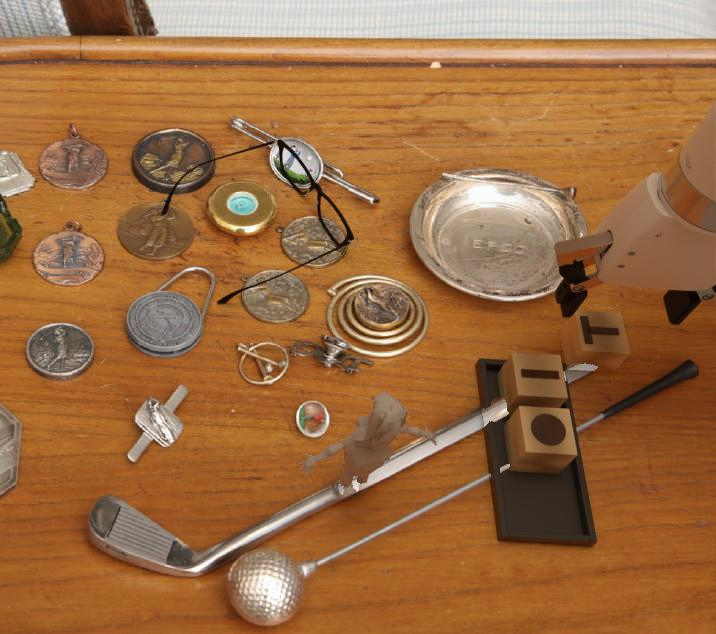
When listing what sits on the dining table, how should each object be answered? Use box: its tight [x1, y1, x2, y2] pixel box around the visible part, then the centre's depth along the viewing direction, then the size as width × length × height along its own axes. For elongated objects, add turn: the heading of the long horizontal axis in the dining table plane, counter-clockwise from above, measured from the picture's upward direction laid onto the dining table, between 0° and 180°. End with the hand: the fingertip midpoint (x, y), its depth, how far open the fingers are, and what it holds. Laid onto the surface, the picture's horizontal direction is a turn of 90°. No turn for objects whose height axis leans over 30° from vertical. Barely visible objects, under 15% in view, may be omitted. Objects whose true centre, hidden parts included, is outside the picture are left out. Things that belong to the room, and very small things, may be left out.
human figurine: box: [298, 391, 438, 488], centre depth 76 cm, size 12×4×18 cm, turn 103°
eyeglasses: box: [161, 138, 355, 305], centre depth 97 cm, size 16×16×4 cm
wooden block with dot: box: [503, 406, 578, 474], centre depth 83 cm, size 4×4×5 cm
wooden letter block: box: [558, 309, 631, 374], centre depth 89 cm, size 4×4×5 cm
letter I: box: [497, 351, 568, 417], centre depth 86 cm, size 4×4×5 cm
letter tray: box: [474, 357, 598, 548], centre depth 85 cm, size 8×18×2 cm, turn 176°
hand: (616, 307), depth 84 cm, fingers open, 9 cm apart
